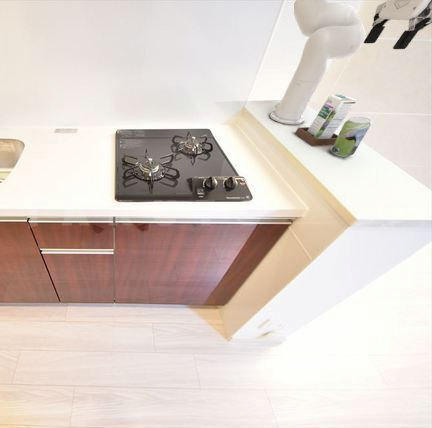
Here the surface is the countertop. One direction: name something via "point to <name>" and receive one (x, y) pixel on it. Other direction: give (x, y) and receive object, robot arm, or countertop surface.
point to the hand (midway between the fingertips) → (382, 45)
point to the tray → (313, 141)
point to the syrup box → (331, 116)
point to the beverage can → (350, 136)
